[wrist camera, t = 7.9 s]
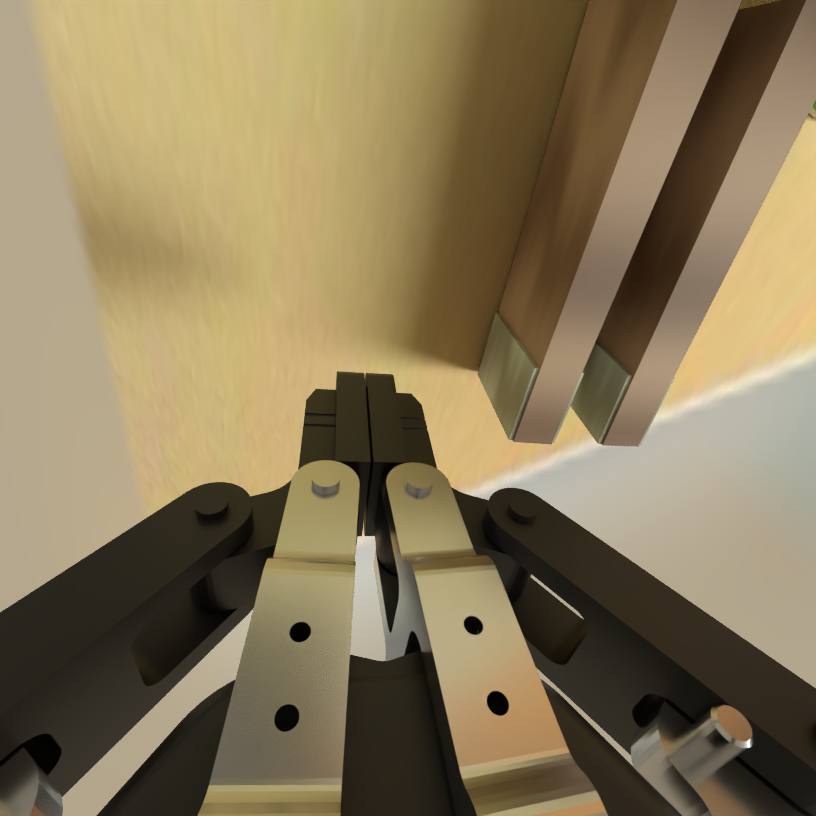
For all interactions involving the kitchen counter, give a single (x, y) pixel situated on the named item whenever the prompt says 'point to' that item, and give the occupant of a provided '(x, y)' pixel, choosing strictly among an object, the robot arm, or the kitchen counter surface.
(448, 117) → the kitchen counter surface
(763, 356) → the kitchen counter surface
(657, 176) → the tong arm
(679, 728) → the robot arm
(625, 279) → the tongs frame
